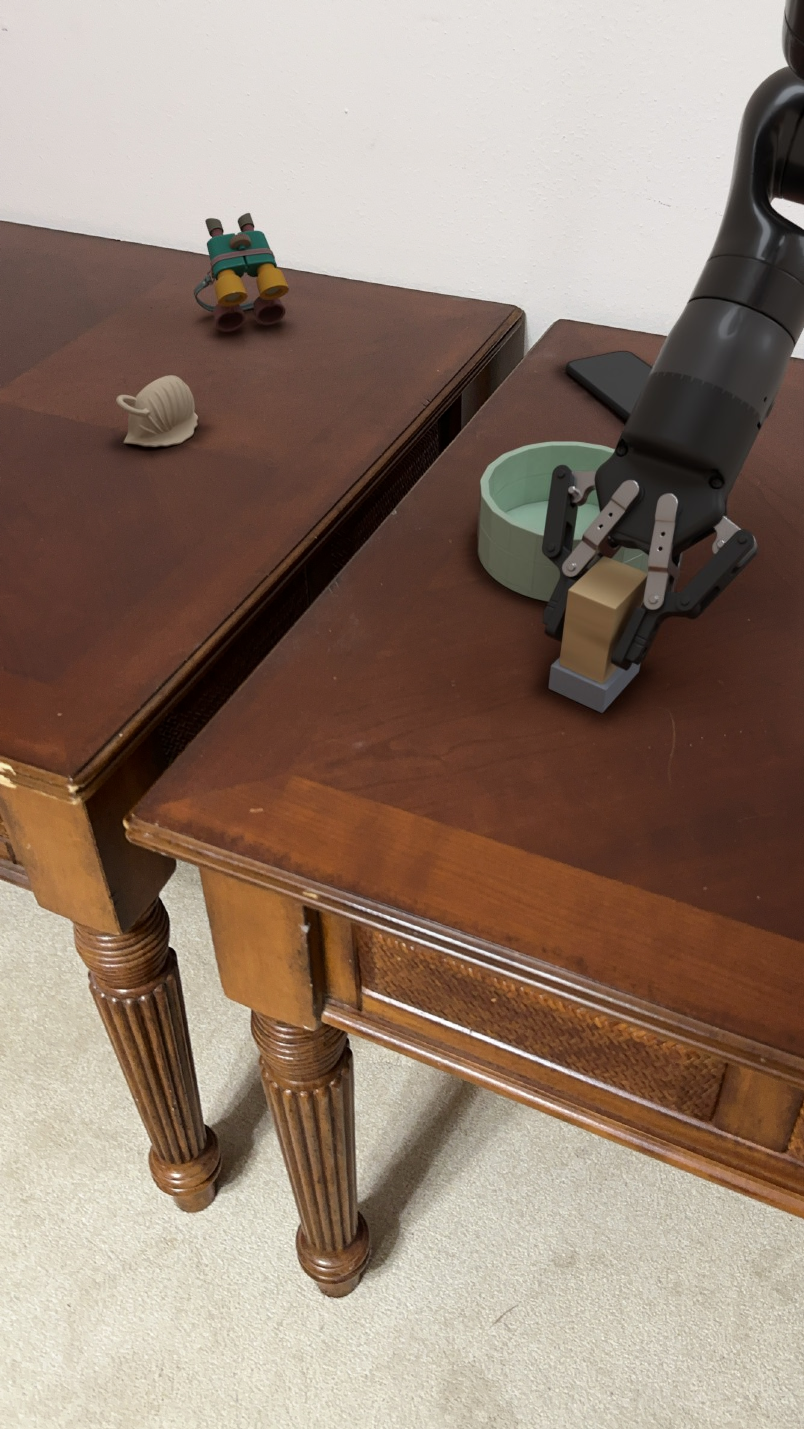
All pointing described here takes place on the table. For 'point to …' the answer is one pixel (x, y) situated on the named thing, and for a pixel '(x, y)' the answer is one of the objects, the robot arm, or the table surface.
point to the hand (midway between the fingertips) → (586, 651)
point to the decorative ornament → (160, 413)
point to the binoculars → (230, 265)
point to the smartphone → (612, 378)
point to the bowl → (534, 514)
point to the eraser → (597, 634)
